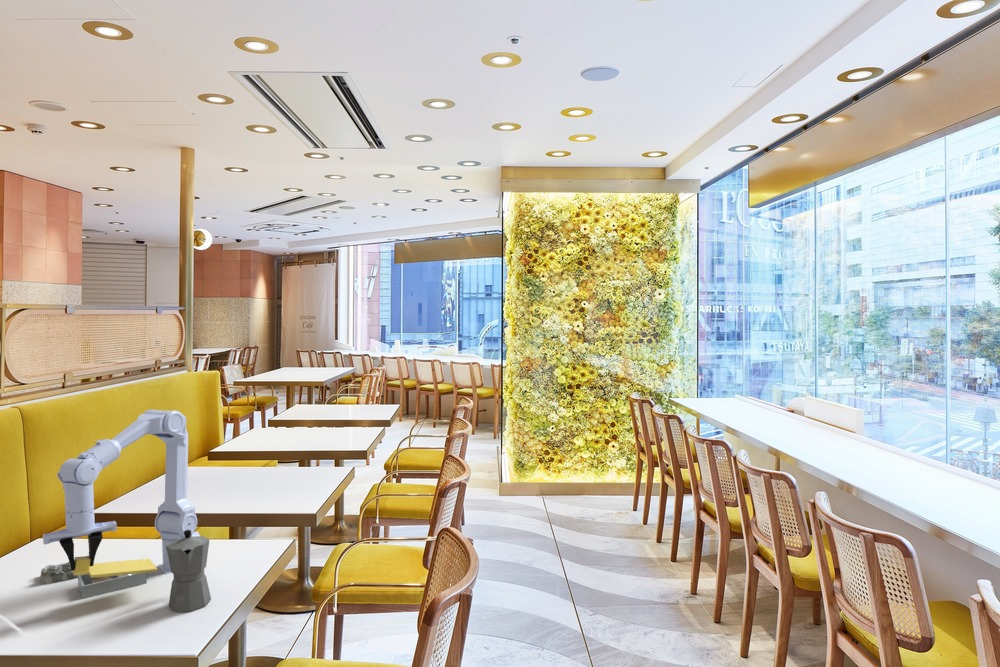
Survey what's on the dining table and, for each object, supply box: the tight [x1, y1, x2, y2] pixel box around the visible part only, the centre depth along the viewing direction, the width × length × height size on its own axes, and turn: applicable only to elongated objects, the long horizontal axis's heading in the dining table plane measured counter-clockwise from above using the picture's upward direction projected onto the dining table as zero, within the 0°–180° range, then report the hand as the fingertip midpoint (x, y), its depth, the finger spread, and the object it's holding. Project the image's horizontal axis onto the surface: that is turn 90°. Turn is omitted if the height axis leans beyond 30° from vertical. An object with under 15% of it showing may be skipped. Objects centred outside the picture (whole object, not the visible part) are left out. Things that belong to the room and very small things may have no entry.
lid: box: [72, 555, 158, 578], centre depth 160 cm, size 17×9×4 cm, turn 129°
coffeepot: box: [166, 530, 212, 614], centre depth 159 cm, size 15×9×18 cm, turn 25°
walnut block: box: [90, 577, 112, 584], centre depth 168 cm, size 4×3×2 cm
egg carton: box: [39, 561, 78, 585], centre depth 176 cm, size 11×8×4 cm
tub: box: [77, 573, 148, 600], centre depth 170 cm, size 14×9×4 cm, turn 128°
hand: (82, 567), depth 156 cm, fingers closed on lid, 3 cm apart
